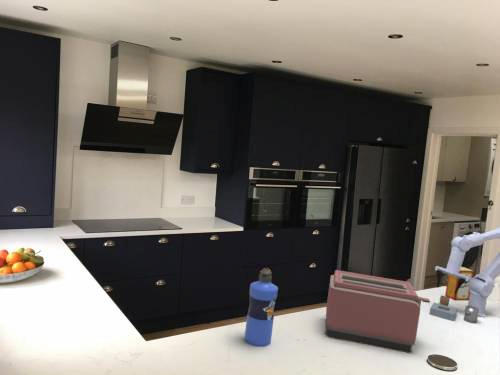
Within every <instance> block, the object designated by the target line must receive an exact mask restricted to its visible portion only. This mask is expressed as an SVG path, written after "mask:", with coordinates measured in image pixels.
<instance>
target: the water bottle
mask: <svg viewBox="0 0 500 375" xmlns="http://www.w3.org/2000/svg"><path fill="white" fill-rule="evenodd" d="M272 274H273V272H272V271H271V269H269V268H268V267H267V268H266V267H265V268H263V269H262V270H260V271H259V275H258V280H257V281H254V282H251V283H250V286H249V294H248V295H249V307H248V311H247V315H246V321H245V324H246V325H245V331H244V341H245V343H247V344H248V345H250V346H252V347H253V346H254V347H262V348H263V347H268V346H270V345H271V343H272V335H273V334H272V333H273V327H274V321H275V320H274V319H275V318H274V315H275V314H274V312H275V311H274V309H275V304H276V301H277V298H278V290H279V287H278V286H277V285H275V284H273V283H272V278H273V277H272Z"/></svg>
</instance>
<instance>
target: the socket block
mask: <svg viewBox="0 0 500 375" xmlns="http://www.w3.org/2000/svg"><path fill="white" fill-rule="evenodd" d="M457 313H458V308H456V307H452V306H449V305H448V306H445V305H442V304H439V303H437V302H433V303H432V305H431V306H430V308H429V315H430V316H433V317H437V318H441V319H444V320H448V321H452V322H454V321H455V319H456V316H457Z"/></svg>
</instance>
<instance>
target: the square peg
mask: <svg viewBox="0 0 500 375" xmlns="http://www.w3.org/2000/svg"><path fill="white" fill-rule="evenodd" d="M450 300H451V298H450V297H447V296H445V295H440V297H439V303H438V304H442V305H445V306H449V304H450Z"/></svg>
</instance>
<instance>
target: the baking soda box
mask: <svg viewBox="0 0 500 375" xmlns="http://www.w3.org/2000/svg"><path fill="white" fill-rule="evenodd" d="M459 273H460V274H462V275H465V276H468V277H469V280H470V279H472V278H474V273H475V270H472V269H470V268H467V267H465V266H461V269H460V272H459ZM449 274H451V273H449ZM447 275H448V274H447ZM452 275H454V274H452ZM455 276H456V275H455ZM459 279H460V278H457V277H454V276H451V275H448V276H447V282H446V289H445V295H444V296H446V297H450V300H453V301H469V296H470V289H469V288H468V282H469V280H468V281H465V282H464V283H463V284H462V285H461V286H460V288H459V289H458V291H457V293H456V294H454V293H455V290H456V288H457V285H458V281H459Z"/></svg>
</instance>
